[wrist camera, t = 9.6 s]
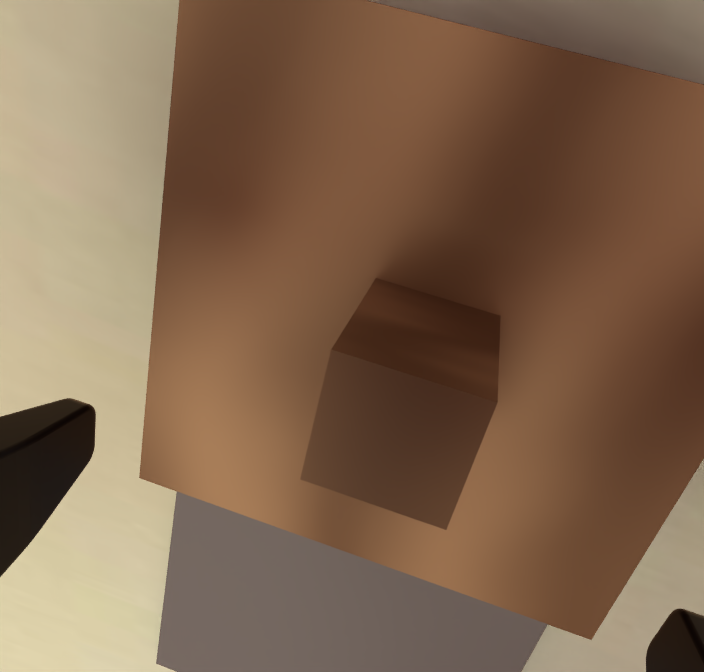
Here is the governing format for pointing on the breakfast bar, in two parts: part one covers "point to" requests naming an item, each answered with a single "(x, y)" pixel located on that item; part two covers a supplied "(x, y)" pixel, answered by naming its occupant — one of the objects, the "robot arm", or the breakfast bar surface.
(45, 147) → the breakfast bar surface
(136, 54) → the breakfast bar surface
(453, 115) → the walnut lid
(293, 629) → the rubber mat
